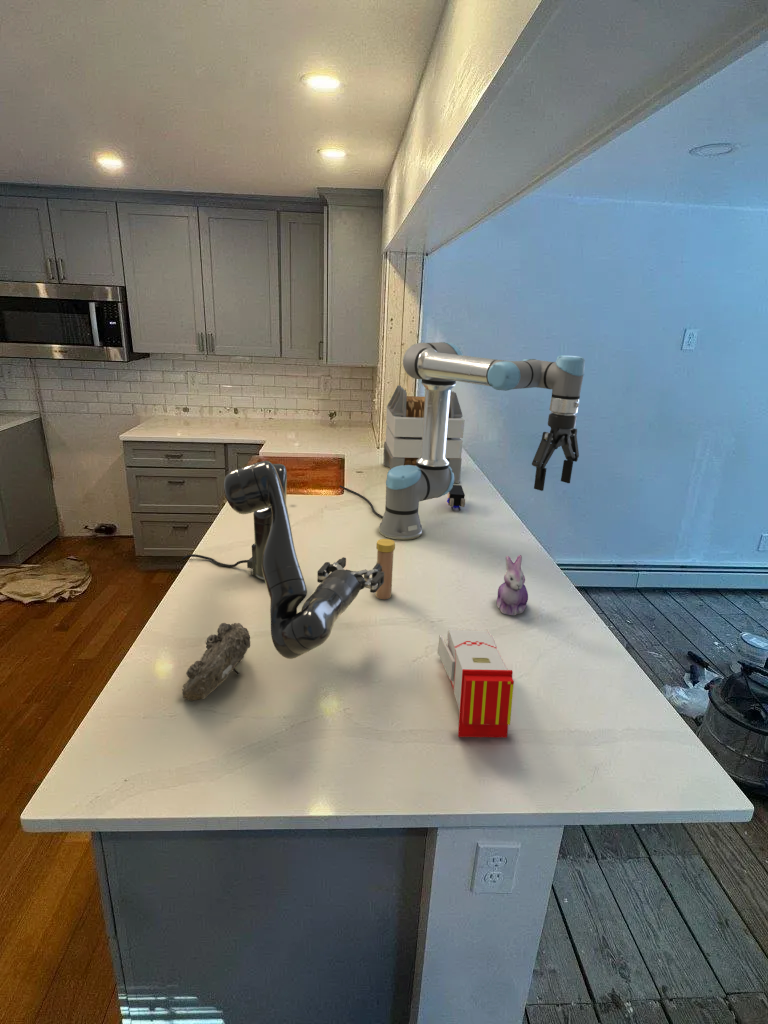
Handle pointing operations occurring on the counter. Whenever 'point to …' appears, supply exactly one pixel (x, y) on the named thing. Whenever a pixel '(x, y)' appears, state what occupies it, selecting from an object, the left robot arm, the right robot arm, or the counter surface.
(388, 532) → the right robot arm
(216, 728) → the counter surface
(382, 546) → the lid
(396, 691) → the counter surface
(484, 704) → the toy
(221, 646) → the fossil
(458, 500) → the figurine character
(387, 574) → the jar
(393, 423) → the white storage crate
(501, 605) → the figurine
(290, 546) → the left robot arm
